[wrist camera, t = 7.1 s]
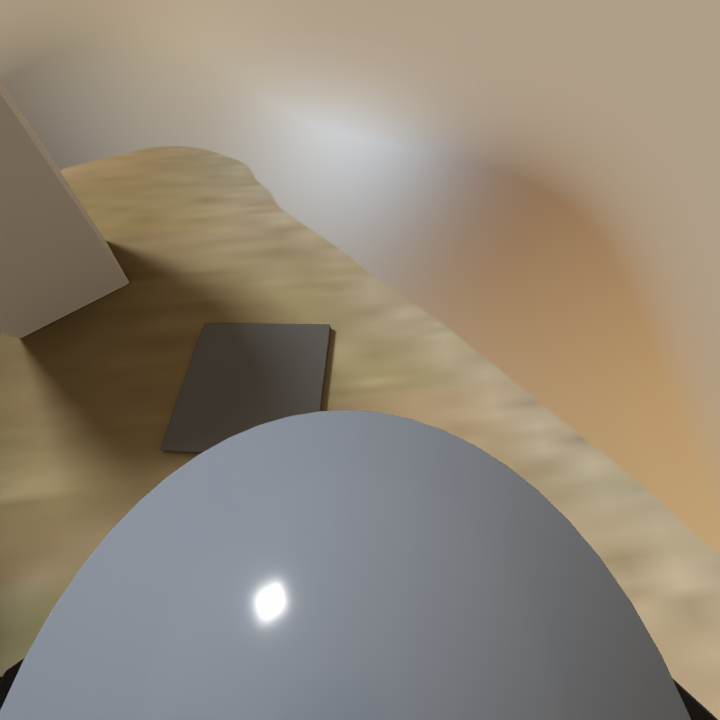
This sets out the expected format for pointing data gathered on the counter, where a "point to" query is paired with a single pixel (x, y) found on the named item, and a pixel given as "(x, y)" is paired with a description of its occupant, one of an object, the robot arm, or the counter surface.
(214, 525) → the grey domed cylinder
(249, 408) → the mat
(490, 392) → the counter surface
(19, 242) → the soap bottle
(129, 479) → the counter surface
